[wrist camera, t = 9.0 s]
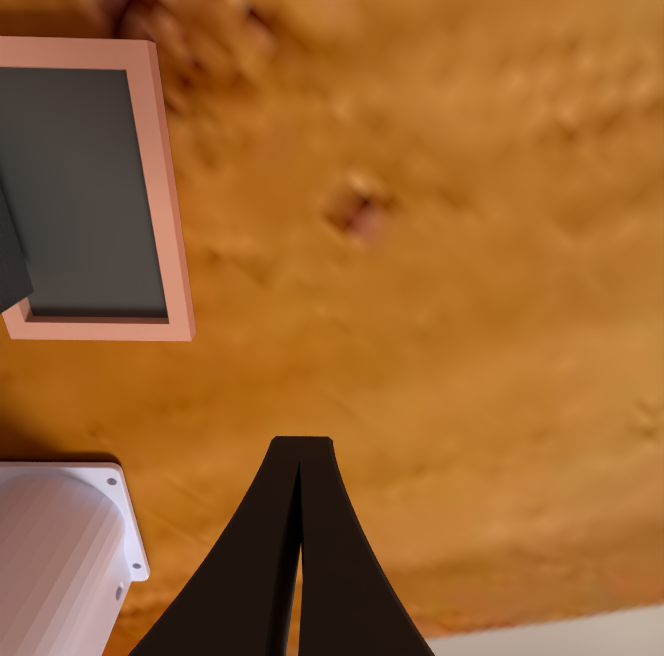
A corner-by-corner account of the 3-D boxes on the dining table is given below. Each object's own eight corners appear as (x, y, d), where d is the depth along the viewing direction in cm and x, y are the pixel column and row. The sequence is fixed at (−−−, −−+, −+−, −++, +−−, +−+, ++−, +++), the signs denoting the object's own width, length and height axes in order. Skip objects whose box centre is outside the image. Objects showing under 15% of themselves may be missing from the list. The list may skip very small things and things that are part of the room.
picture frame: (196, 332, 19) (191, 341, 18) (23, 330, 19) (11, 338, 18) (155, 43, 14) (146, 40, 13) (-80, 36, 14) (-102, 33, 13)
